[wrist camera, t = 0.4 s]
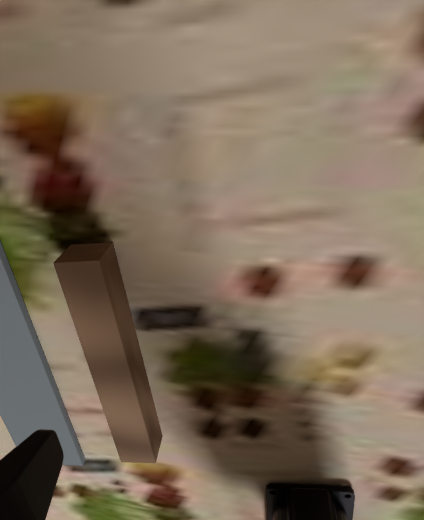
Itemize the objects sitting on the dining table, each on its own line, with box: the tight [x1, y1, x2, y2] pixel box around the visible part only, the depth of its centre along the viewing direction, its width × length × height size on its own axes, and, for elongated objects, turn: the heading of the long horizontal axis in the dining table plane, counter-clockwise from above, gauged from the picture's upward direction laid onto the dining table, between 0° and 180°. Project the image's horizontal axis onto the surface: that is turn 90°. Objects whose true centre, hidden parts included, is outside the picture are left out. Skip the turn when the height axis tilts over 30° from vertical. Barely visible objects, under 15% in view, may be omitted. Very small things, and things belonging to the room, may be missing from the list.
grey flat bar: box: [0, 242, 85, 466], centre depth 27 cm, size 20×5×1 cm, turn 6°
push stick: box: [54, 242, 162, 463], centre depth 25 cm, size 16×2×2 cm, turn 7°
